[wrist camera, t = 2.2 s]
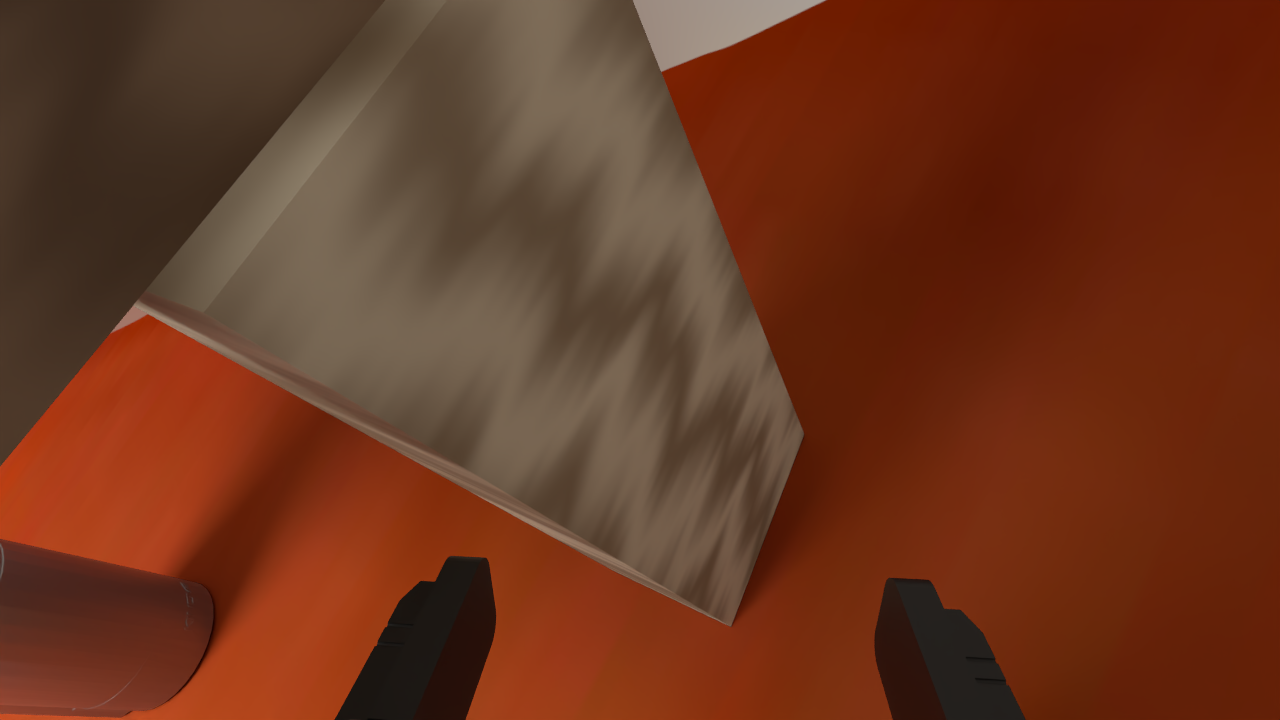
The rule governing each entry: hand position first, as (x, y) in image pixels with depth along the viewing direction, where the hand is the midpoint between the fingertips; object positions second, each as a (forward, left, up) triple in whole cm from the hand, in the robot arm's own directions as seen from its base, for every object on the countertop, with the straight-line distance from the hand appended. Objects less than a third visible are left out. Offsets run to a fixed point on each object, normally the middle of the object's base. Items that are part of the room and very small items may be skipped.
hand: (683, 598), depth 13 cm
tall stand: (+1, +12, -24) cm, 27 cm away
